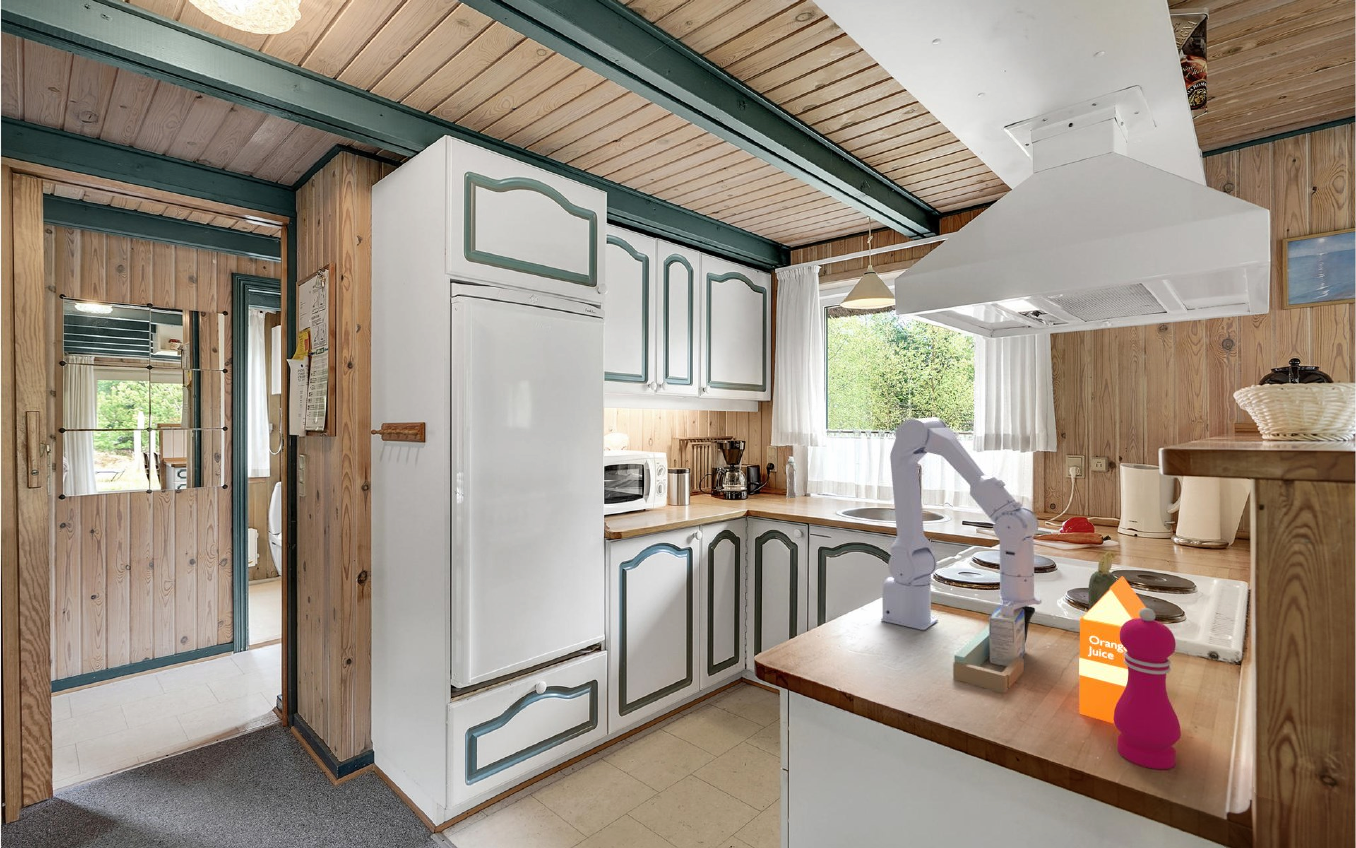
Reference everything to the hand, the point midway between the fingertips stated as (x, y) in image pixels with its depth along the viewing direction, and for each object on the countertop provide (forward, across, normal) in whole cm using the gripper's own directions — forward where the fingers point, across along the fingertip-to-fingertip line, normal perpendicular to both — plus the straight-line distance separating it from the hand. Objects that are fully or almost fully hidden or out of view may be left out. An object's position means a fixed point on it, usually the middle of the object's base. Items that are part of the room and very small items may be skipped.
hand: (1017, 644), depth 121 cm
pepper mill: (+2, -28, -22) cm, 36 cm away
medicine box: (+1, -5, 0) cm, 5 cm away
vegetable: (+2, +6, -13) cm, 14 cm away
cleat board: (+1, -10, +1) cm, 10 cm away
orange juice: (+2, -16, -18) cm, 24 cm away
